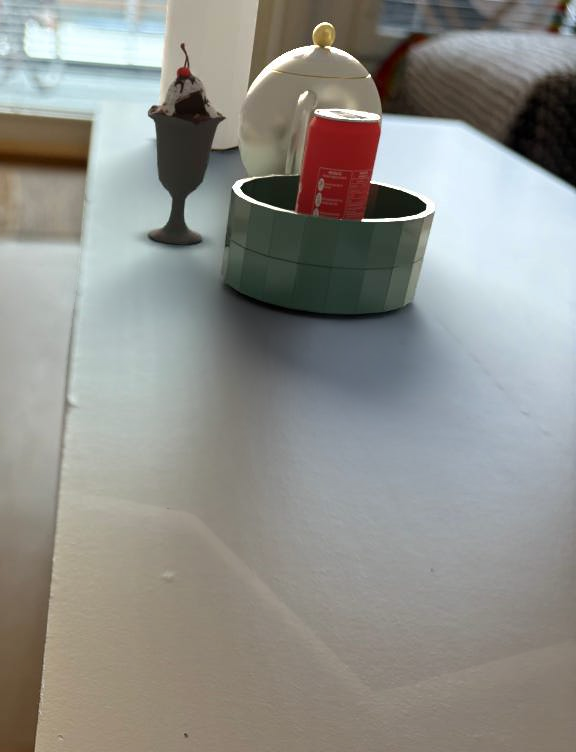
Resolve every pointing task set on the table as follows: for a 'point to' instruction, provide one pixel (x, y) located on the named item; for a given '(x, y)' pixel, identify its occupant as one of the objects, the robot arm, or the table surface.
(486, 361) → the table surface
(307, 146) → the beverage can
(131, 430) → the table surface
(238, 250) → the green planter pot
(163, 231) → the sundae
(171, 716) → the table surface
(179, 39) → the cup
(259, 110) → the teapot
